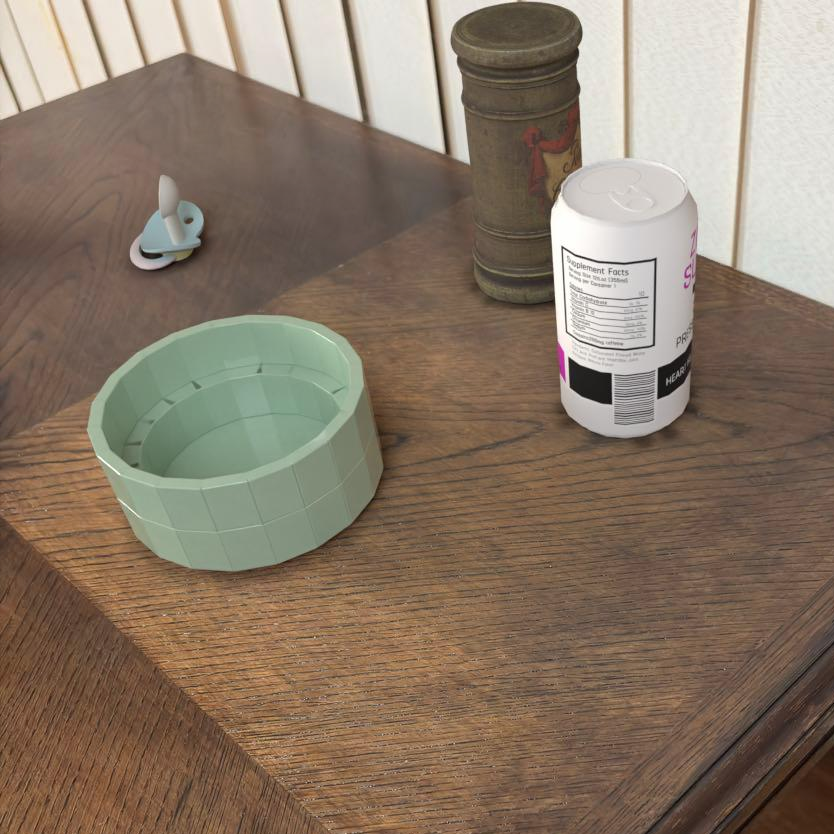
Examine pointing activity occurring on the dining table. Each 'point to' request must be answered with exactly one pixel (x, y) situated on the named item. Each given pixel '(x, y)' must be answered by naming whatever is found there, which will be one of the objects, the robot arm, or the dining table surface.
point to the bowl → (239, 441)
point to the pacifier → (168, 229)
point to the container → (518, 138)
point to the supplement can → (624, 294)
